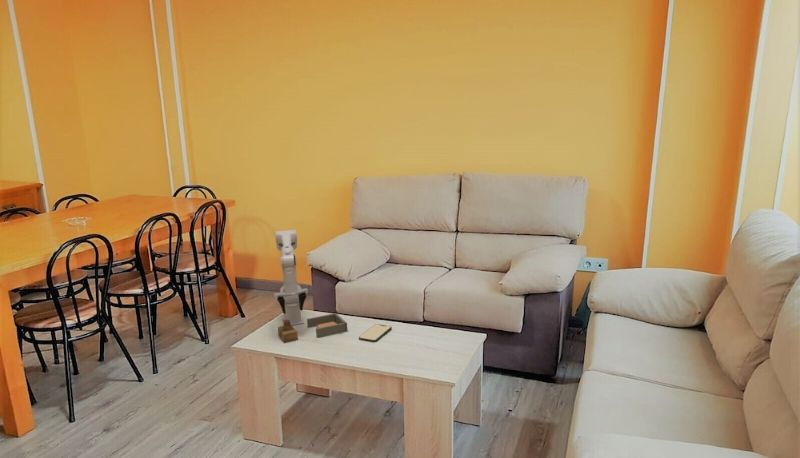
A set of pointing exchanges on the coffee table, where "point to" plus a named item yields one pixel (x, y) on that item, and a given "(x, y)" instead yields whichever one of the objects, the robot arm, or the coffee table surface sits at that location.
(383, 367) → the coffee table surface
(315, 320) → the frame
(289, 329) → the pusher
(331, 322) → the tile
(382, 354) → the coffee table surface
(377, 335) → the phone case
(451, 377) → the coffee table surface
